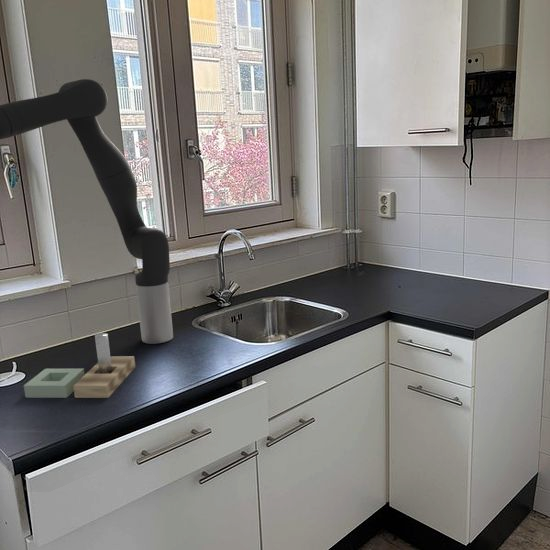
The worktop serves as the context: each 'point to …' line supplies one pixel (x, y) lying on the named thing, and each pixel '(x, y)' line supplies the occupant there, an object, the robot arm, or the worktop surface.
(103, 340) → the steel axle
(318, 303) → the worktop surface
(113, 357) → the notched wooden block
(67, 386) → the holder block
